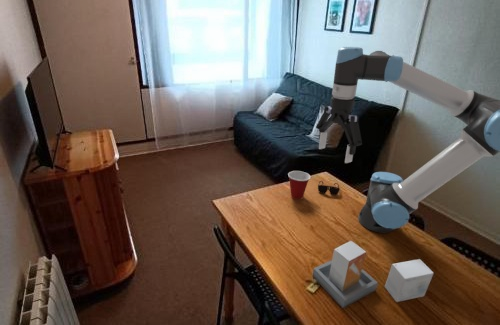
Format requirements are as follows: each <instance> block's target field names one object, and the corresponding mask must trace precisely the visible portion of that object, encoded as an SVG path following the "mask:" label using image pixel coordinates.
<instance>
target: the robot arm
mask: <svg viewBox="0 0 500 325" xmlns="http://www.w3.org/2000/svg"><path fill="white" fill-rule="evenodd" d="M336 55H337V56H336V61H335V67H334V77H333V82H332V83H333V85H332V92H331V95H332V96H331V98H330V105H329V106H325V107H324V110H323V112H322V114H321V117H320V118H319V120H318V122H317V124H316V126H315V128H316V129H317V130H318V131H319V133H318V135H319V136H318V139H319V140H318V142H319V143H318V149H319V150H323V149H325V148H326V146H327V137H328V129H329V128H330V127H331V126H332V125H334V124H337V125H339V126H341V128H343V131H344V134H345V136H346V139H347V141H348V144H347V145H346V146H347V147H346V151H345V158H344V164H349V163H351V162H353V158H354V155H355V154H356V150H357V147H359V146H362V145H363V141H362V140H363V139H362V134H361V130H360V124H359V118H360V117H359V115H353V114H352V110H353V109H354V105H355V97H356V95H357V88H358V84H359V83H358V81H359V80H363V81H377V82H385V83H388V82H389V83H391V84H394V85H395V86H398V87H399V88H402V89H404V90H406V91H408V92H410V93H412V94H414V95H416V96H418V97H421V98H422V99H424V100H426V101H427V102H428V101H429V102H430V103H433V104H435V105H437V106H439V107H440V108H441V107H442V108H443V109H446V110H447V111H449V112H450V115H451V116H452V117H455V118H456V119H458V120H460V121H462V122H463V124H465V125H466V126H465V127H464V128H462V129H461V134H460V135H461V136H460V137H459V138H457V139H456V140H455V141H453V142H452V143H451V144H449V146H447V147H446V148H444V149H443V150H442V151H440V153H438V154H436V155H435V156H434V157H432V159H430V160H429V161H427V162H426V163H425V164H424V165H422V166H421V167H420V168H418V169H417V170H415V171H414V172H413V173H412V174H411V175H409V176H408V177H407V178H405V179H403V177H401V176H400V175H398V174H396V173H392V172H388V171H376V172H374V173H372V175H371V178H370V181H369V188H368V191H367V197H366V200H365V201H366V202H365V204H364V205H363V206H362V208H361V209H360V211H359V212H358V217H357V219H358V222H359V223H360V225H361V226H363V227H364V228H366V229H367V230H370V231H372V232H375V233H381V234H388V233H391V232H393V231H395V230H396V229H399V228H402V227H404V226H405V225H407V223H408V222H409V220H410V214H412V213H413V212H415V211H416V210H418V208H419V203H420V202H421V201H422V200H424V199H425V198H426V197H428V196H429V195H431V194H432V193H434V192H435V191H437V190H438V189H439V188H441V187H443V185H445V184H446V183H448V182H449V181H451V180H453V178H455V177H456V176H458V175H459V174H461V173H462V172H463V171H465V170H466V169H467V168H469V167H470V166H472V165H474V164H475V163H476V162H477V161H479V160H481V159H482V158H485V157H490V158H492V157H494V156H495V155H497V154H499V153H500V99H498V98H495V97H491V96H487V95H484V94H481V93H479V92H476V91H475V90H472V89H469V90H464V89H463V88H460V87H458V86H456V85H454V84H452V83H450V82H448V81H445V80H443V79H441V78H438V77H436V76H434V75H433V74H430V73H428V72H426V71H424V70H422V69H419V68H418V67H415V66H413V65H411V64H409V63H407V62H404V58H403V57H402V56H401V55H400V56H398V55H397V56H396V55H390V54H387V53H386V52H385V51H383V50H375V51H372V52H371V53H370V54H365V53H364V49H363V48H362V47H357V46H342V47H339V49H338V51H337V54H336Z"/></svg>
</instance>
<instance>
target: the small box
mask: <svg viewBox="0 0 500 325" xmlns="http://www.w3.org/2000/svg"><path fill="white" fill-rule="evenodd" d="M366 255H367V251H365V250H364V249H363V248H362V247H360V246H359V245H358V244H357V243H355V242H354V241H352V240H349V241H347V242H346V243H344V244H341V245H340V246H338V247H336V248H334V249H333V253H332V258H331V260H332V263H331V269H330V274H329V280H330V281H331V282H332V283H334V284H335V285H336V286H337V287H338V288H339V289H340V290H341V291H344V290H346V289H347V288H349V287H350V286H352V285H354V284H355V283H357V282H359V279H360V275H361V271H362V269H363V267H364V262H365V258H366Z"/></svg>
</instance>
